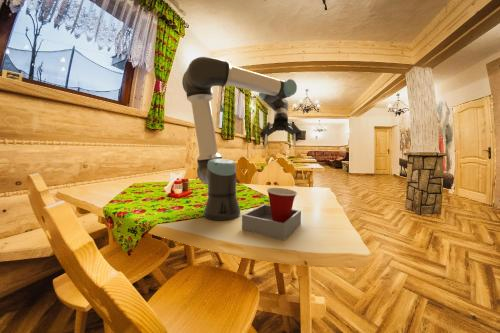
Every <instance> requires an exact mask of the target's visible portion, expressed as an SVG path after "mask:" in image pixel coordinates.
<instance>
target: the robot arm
mask: <svg viewBox="0 0 500 333" xmlns="http://www.w3.org/2000/svg"><path fill="white" fill-rule="evenodd" d="M181 82H182V88H183V90H184V92H185V93H186V94H185V95H186V98H187V101H189V102H190V103H191V107H192V108H191V109H192V115H193V122H194V128H195V134H196V140H197V146H198V154H199V155H198V157H197V158H196V161H197V169H196V174H197V177H198V180H200V181H201V182H202V183H203V184H204V185H207V196H208V197H207V200H206V204H205V208H204V210H203V212H204V214H203V215H204V218H206V219H208V220H210V221H229V220H233V219H236V218H238V217H239V216H241V208H240V205H239V201H238V198H237V164H236V161H234V160H232V159H229V158H228V159H227V158H223V156H222V155H221V154H220V153H219V150H218V143H217V137H216V130H215V123H214V117H213V110H212V109H213V108H212V104H211V102H212V100H213V99H214V95H213V94H214V93H213V87H222V88H225V87H226V86H230V87H234V88H239V89H242V90H248V91H252V92H256V93H258V96H259V98H261V100H262V101H263V102H264V103H266V104H267V105H268V106H269V108H270V109H271V110H273V111H274V115H273V116H274V117H273V123H271V122H270V121H268V122H267V124H266V125H265V126H264V128H263V129H262V130H260V132H259V136H260V138H262V142H263V143H264V144H263V145H264V148H267V144H268V137H269V136H270V135H272V134H273V133H275V132H277V131H278V132H279V131H285V132H286V133H289V134H290V135H291V136H292V137H293V148H296V144H297V142H298V141H299V140H298V138H299V137H302V130H300V128H298V126H297V125H296V123H295V121H292V122H289V101H288V100H287V99H286V98H290V97H293V95H295V94H297V91H298V90H297V89H298V88H297V87H298V86H297V82H296V81H295V80H294V79H293V78H289V79H288V78H287V79H284V80H282V79H278V78H274V77H272V76H271V77H270V76H267V75H265V74H262V73H258V72H254V71H251V70H247V69H244V68H241V67H237V66H234V65H231V64H230V62H229V61H227V60H223V59H220V58H216V57H210V56H200V57H196V58H194V59H192V61H190V63H189V65H188V66H187V69H186V71H185V72H184V74H183V77H182V81H181Z"/></svg>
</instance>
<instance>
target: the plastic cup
mask: <svg viewBox="0 0 500 333" xmlns="http://www.w3.org/2000/svg"><path fill="white" fill-rule="evenodd" d="M266 191H267V194H268V199H269V205H270V208H271V214H272V220H273V221H276V222H281V223H284V222H285V221H286V220H288V219H289V218H290V215H291V211H292V209H293V204H294V201H295V198H296V196H297V195H298V191H295V190H293V189H290V188H284V187H270V188H269V187H268V188H266Z"/></svg>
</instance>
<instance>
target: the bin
mask: <svg viewBox="0 0 500 333" xmlns="http://www.w3.org/2000/svg"><path fill="white" fill-rule="evenodd" d="M301 224H302V210H299V209H293V208H292V211H291V215H290V218H289V219H288V220H286V221H285V222H284V223H281V222H276V221H273V220H272V214H271V208H270V204H265V203H264V204H261V205H259V206H257V207H255V208H253V209H251V210H248V211H247V212H246V213H242V215H241V229H242V230H245V231H248V232H252V233H256V234H259V235H262V236H267V237H270V238H274V239H277V240H280V241H286V240H287V239H288V238H289V237H290V236H291V235H292V234H293V232H294V231H295V230H296V229H297V228H299V226H301Z"/></svg>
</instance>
